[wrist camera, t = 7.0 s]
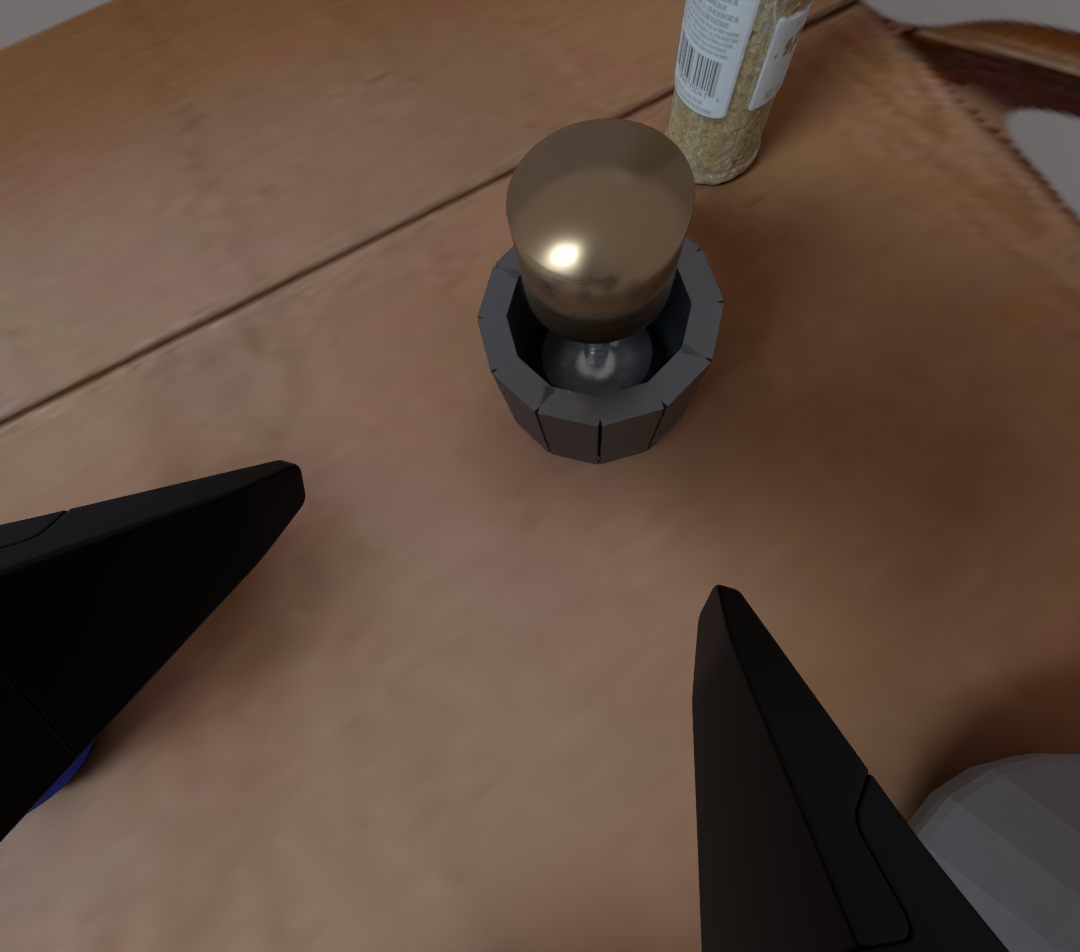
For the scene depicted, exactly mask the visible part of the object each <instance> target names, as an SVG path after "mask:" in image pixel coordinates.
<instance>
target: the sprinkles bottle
mask: <svg viewBox="0 0 1080 952" xmlns="http://www.w3.org/2000/svg"><path fill="white" fill-rule="evenodd" d="M812 2H813V0H686V5H685V11H684V17H683V24H682V30H681V37H680V43H679V50H678V57H677V63H676V70H675V89H674V94H673V99H672V105H671V115H670V119H669V125H668V127H667V129H666V131H665V136H667V137H668V138H669V139H671V140H672V141H673V142H674V143H675V144H676V145H677V146H678V147H679V149H680V150H681V151H682V153H683V154H684V155H685V157H686V159H687V161H688V162H689V164H690V167H691V170H692V173H693V176H694V182H695V183H696V184H708V185H716V184H719V183H722V182H727V181H729V180H731V179H733V178H735V177H736V176H737V175H739V174H741V173H742V172H744V171H745V170H746V169H747V168H748V167H749V166H750V165H751V164H752V162H753V160H754V159H755V157H756V155H757V153H758V151H759V148H760V144H761V136H762V132H763V130H764V127H765V125H766V122H767V119H768V116H769V114H770V110H771V108H772V106H773V103H774V100H775V98H776V95H777V92H778V90H779V89H780V87H781V85H782V83H783V80H784V78H785V75H786V72H787V70H788V67H789V64H790V62H791V59H792V56H793V53H794V51H795V48H796V45H797V43H798V40H799V37H800V34H801V32H802V29H803V26H804V23H805V21H806V18H807V15H808V13H809V10H810V7H811V4H812Z"/></svg>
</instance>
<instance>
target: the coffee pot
mask: <svg viewBox="0 0 1080 952" xmlns="http://www.w3.org/2000/svg"><path fill="white" fill-rule="evenodd" d="M907 823H908V825H909V826H910V827H911V829H912V830H913V831H914V833H915V834H916V835H917V837H918V838H919V839H920V841H921V842H922V843H923V845H924V846H925V847H926V848H927V850H928V851H929V852H930V854H931V855H932V856H933V857H934V859H935V860H936V861H937V862H938V864H939V865H940V866H941V867H942V869H943V870H944V871H945V872H946V874H947V875H948V876H949V877H950V879H951V880H952V881H953V883H954V884H955V885H956V886H957V888H958V889H959V890H960V891H961V893H962V894H963V895H964V896H965V898H966V899H967V900H968V901H969V902H970V904H971V905H972V906H973V907H974V909H975V910H976V911H977V912H978V913H979V915H980V916H981V917H982V918H983V920H984V921H985V922H986V923H987V925H988V926H989V927H990V928H991V929H992V931H993V932H994V933H995V934H996V936H997V937H998V938H999V939H1000V940H1001V942H1002V943H1003V944H1004V945H1005V947H1006V948H1007V949H1008V950H1009V952H1080V754H1061V753H1031V754H1023V755H1014V756H1011V757H1007V758H1003V759H999V760H996V761H992V762H988V763H984V764H980V765H977V766H973V767H969V768H968V769H966V770H965V771H963V772H962V773H960V774H958V775H957V776H955V777H954V778H952V779H951V780H949V781H948V782H946V783H944V784H943V785H941V786H940V787H938V788H937V789H935V790H934V791H932V792H931V793H930V795H929V796H928V797H927V798H926V800H925V801H924V802H923V803H922V805H921V806H920V807H919V808H918V810H917V811H916V812H915V813H914V815H913V816H912V817H911V818H910V820H909V821H908V822H907Z"/></svg>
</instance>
